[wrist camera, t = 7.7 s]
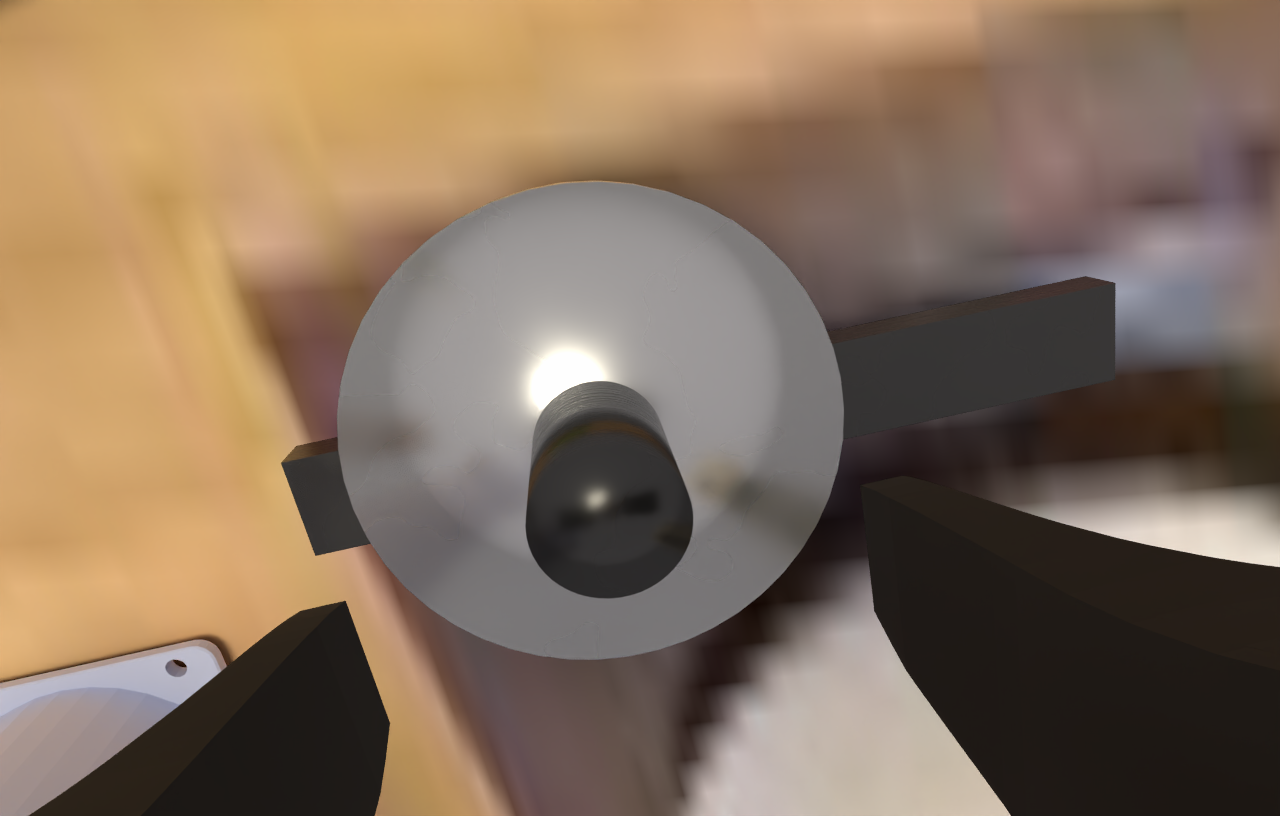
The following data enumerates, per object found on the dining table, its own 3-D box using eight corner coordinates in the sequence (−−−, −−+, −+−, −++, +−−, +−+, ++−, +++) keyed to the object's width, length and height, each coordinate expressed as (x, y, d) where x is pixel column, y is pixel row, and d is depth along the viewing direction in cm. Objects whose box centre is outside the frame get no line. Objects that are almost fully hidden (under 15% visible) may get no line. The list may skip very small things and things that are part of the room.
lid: (411, 649, 18) (357, 830, 13) (305, 213, 15) (182, 238, 10) (827, 583, 19) (923, 733, 14) (808, 151, 16) (922, 146, 11)
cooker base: (391, 608, 21) (359, 693, 18) (278, 278, 18) (215, 305, 15) (1035, 464, 21) (1123, 519, 18) (1024, 123, 19) (1126, 115, 15)
